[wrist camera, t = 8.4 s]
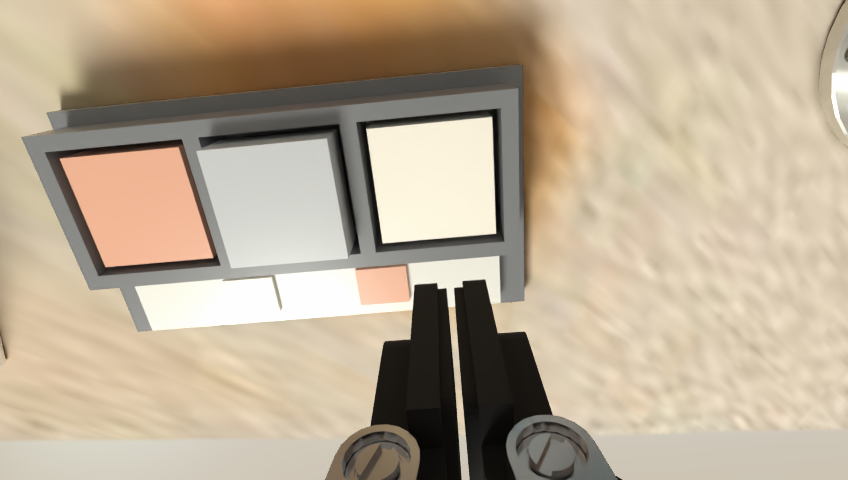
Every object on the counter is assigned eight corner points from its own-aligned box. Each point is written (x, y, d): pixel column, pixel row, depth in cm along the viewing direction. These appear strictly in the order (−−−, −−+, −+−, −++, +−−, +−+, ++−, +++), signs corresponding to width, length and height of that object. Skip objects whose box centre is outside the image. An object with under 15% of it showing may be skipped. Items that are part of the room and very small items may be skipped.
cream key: (485, 109, 24) (492, 117, 21) (489, 216, 26) (495, 233, 24) (371, 120, 24) (366, 128, 21) (386, 225, 26) (382, 243, 24)
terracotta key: (201, 137, 24) (178, 147, 22) (231, 239, 27) (213, 258, 24) (93, 147, 24) (59, 158, 22) (132, 248, 27) (105, 267, 24)
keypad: (519, 64, 24) (536, 67, 20) (521, 292, 29) (534, 328, 26) (60, 110, 25) (-3, 121, 21) (146, 323, 30) (108, 361, 27)
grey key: (336, 128, 22) (326, 138, 20) (355, 238, 25) (348, 258, 23) (219, 140, 23) (195, 151, 20) (249, 247, 25) (231, 268, 23)
